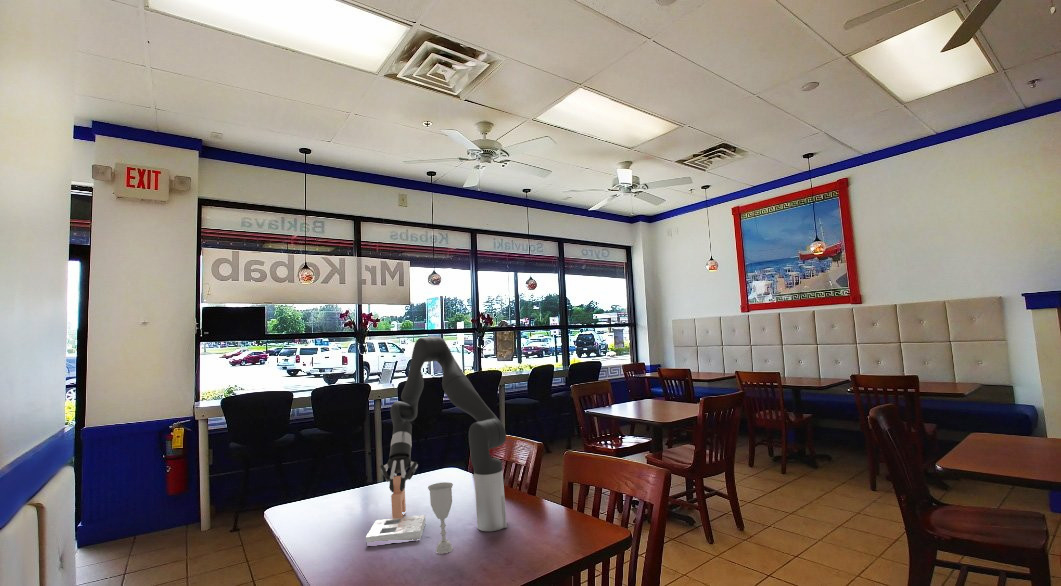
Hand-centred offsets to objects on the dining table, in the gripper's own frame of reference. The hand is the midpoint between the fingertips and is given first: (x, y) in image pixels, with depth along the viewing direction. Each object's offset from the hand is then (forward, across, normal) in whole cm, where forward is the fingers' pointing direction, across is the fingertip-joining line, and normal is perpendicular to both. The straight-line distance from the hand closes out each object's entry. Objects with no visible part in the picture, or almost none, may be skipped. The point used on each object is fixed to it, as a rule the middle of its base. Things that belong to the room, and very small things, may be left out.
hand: (397, 490), depth 170 cm
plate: (+17, +2, -3) cm, 17 cm away
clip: (+6, 0, +8) cm, 10 cm away
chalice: (+28, +18, -14) cm, 36 cm away
